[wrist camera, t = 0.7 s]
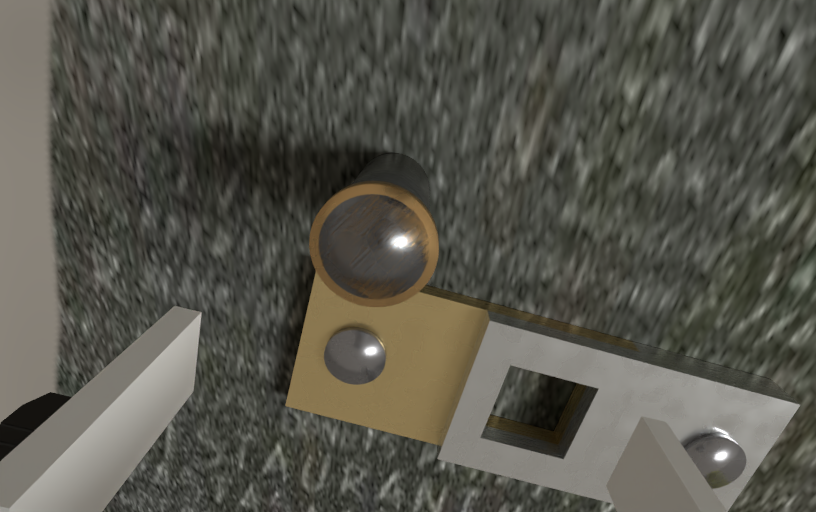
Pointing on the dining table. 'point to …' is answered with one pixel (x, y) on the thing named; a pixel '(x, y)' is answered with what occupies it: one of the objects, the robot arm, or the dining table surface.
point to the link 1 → (403, 361)
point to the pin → (377, 234)
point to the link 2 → (612, 410)
